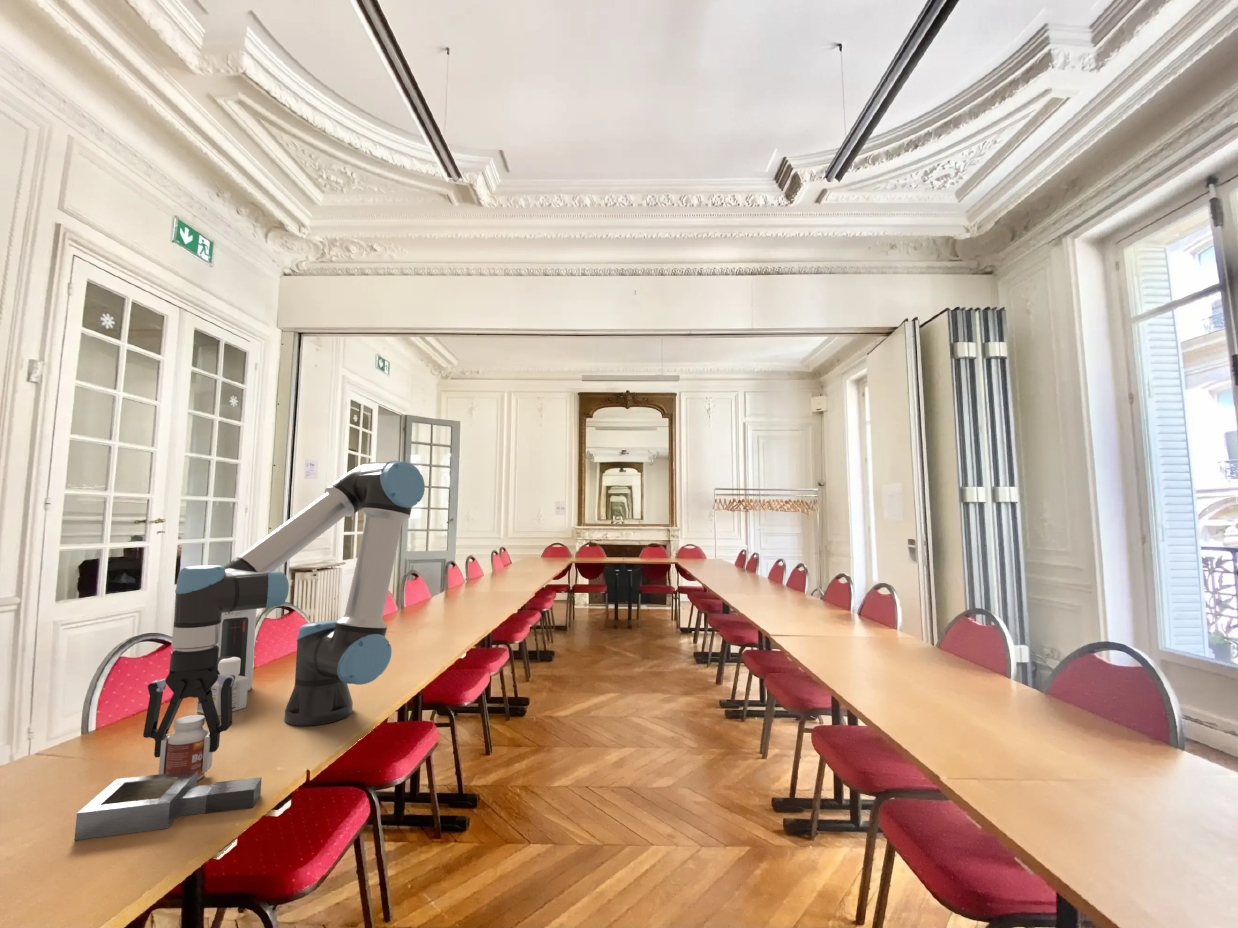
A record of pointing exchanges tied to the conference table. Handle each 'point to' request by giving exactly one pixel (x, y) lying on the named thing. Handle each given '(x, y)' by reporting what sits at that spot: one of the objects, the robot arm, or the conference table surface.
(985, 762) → the conference table surface
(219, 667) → the container
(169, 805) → the grey square pan
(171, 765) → the pill bottle
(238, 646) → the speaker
